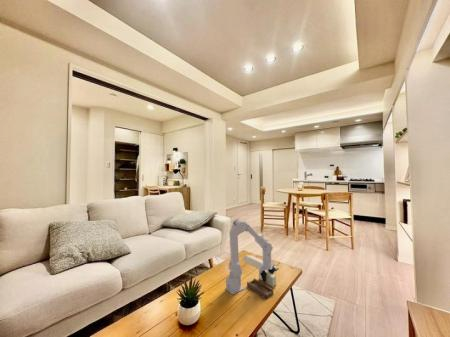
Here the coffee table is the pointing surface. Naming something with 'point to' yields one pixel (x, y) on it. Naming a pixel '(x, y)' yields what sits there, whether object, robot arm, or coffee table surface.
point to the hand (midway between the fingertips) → (267, 279)
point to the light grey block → (269, 278)
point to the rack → (260, 288)
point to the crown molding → (254, 261)
